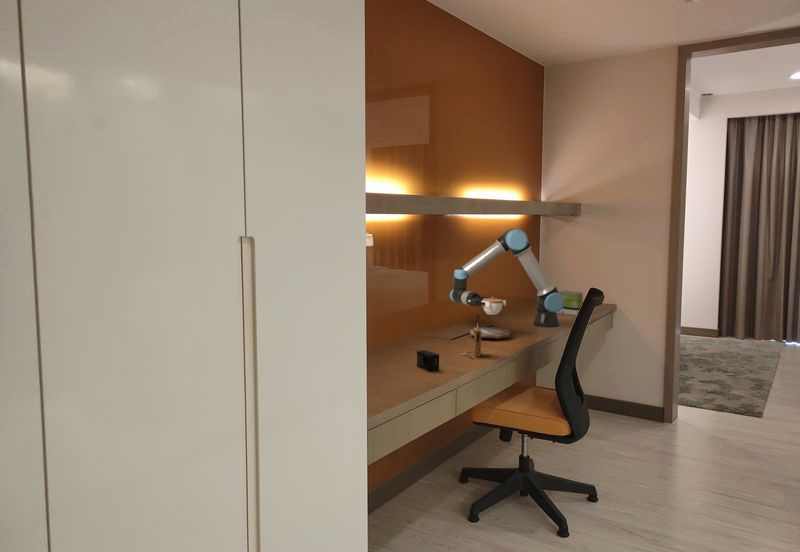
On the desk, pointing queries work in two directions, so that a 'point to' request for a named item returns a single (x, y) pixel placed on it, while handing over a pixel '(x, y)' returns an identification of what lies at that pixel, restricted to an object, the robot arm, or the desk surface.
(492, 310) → the lidded jar
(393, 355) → the desk surface
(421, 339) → the desk surface
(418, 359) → the digital camera
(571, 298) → the tea box
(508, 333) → the turntable
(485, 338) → the turntable pedestal
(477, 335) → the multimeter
